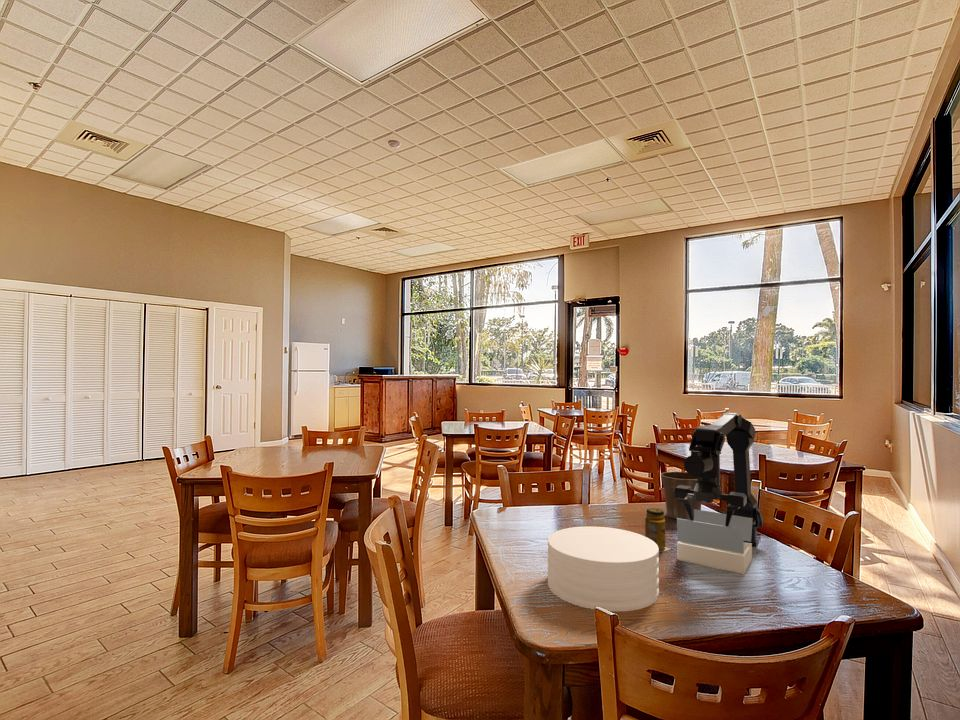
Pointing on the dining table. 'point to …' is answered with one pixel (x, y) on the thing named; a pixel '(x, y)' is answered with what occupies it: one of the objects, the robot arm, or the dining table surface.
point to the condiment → (656, 527)
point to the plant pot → (673, 504)
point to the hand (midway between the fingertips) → (709, 525)
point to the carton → (715, 557)
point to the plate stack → (603, 568)
